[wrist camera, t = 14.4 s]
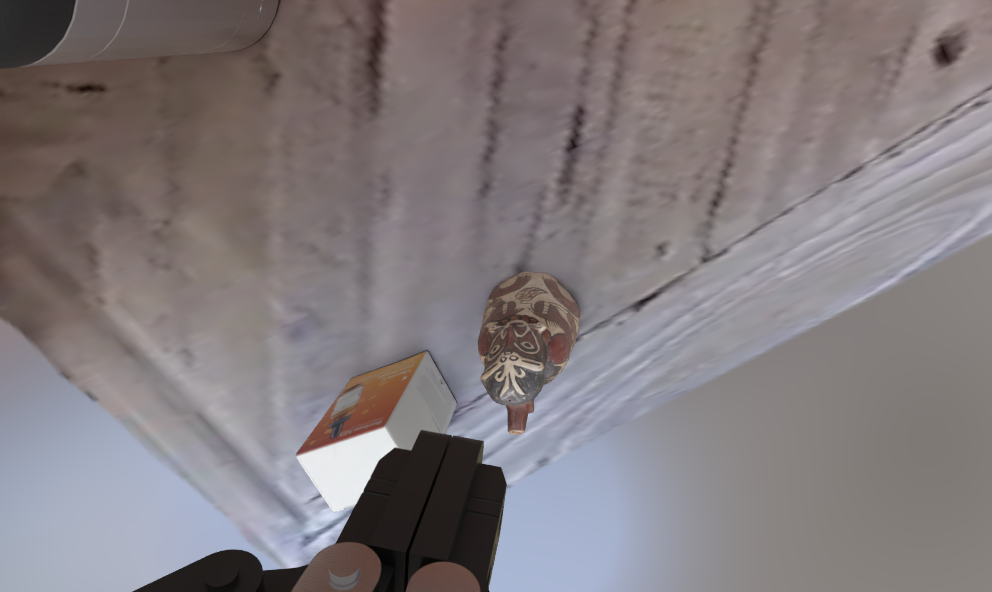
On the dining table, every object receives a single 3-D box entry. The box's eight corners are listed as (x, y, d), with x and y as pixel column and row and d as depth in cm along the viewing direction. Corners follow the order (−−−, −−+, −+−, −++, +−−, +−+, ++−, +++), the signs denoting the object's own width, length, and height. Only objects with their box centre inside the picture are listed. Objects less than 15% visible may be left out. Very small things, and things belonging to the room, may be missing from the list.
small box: (428, 348, 50) (387, 424, 40) (459, 403, 51) (426, 489, 42) (348, 377, 52) (291, 455, 43) (380, 429, 54) (332, 515, 44)
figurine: (582, 275, 45) (575, 354, 34) (577, 359, 48) (568, 456, 37) (487, 268, 46) (451, 344, 35) (487, 351, 49) (454, 444, 38)
